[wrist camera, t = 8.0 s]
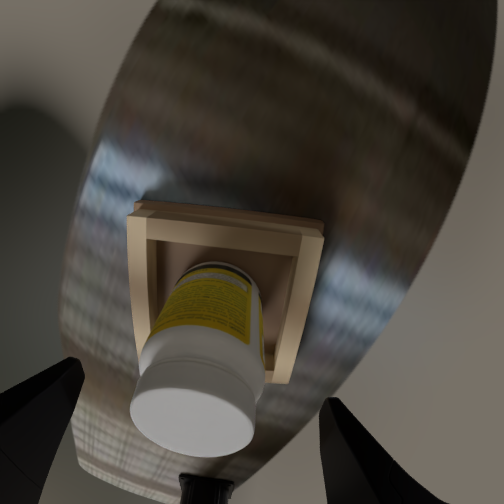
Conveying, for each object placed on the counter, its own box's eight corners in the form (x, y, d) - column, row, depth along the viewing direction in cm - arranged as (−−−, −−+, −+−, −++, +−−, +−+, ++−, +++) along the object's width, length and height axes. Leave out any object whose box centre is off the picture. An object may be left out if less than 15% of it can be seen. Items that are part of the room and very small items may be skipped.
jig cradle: (288, 362, 18) (292, 387, 16) (146, 343, 18) (135, 365, 16) (321, 220, 14) (332, 232, 12) (139, 199, 14) (121, 208, 12)
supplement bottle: (158, 283, 15) (89, 394, 7) (232, 243, 14) (208, 353, 6) (206, 347, 16) (180, 469, 8) (277, 315, 16) (293, 445, 8)
